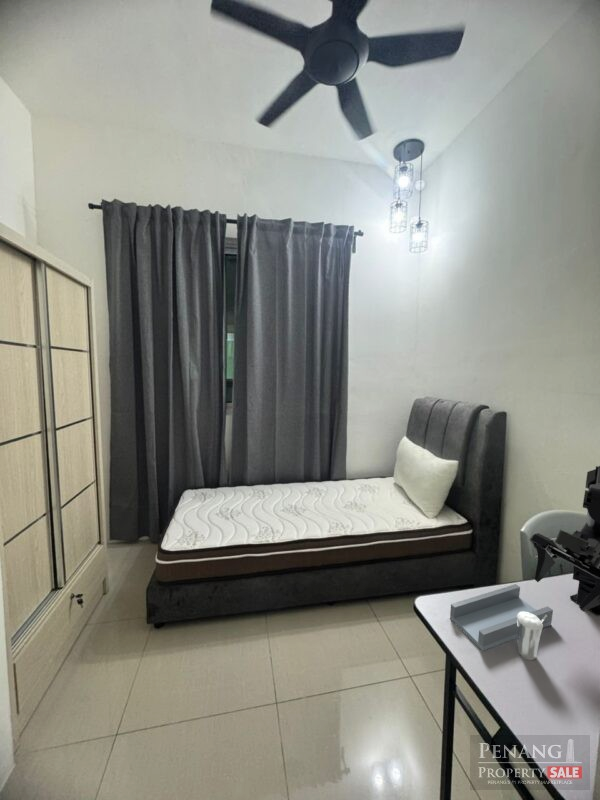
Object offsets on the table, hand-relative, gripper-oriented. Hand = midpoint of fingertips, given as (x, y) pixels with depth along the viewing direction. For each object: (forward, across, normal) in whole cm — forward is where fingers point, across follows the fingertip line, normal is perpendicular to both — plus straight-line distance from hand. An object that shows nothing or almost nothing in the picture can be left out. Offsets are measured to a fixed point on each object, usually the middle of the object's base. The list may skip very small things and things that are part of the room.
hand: (557, 594), depth 71 cm
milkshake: (+14, 0, +4) cm, 15 cm away
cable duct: (+12, -9, +5) cm, 16 cm away
